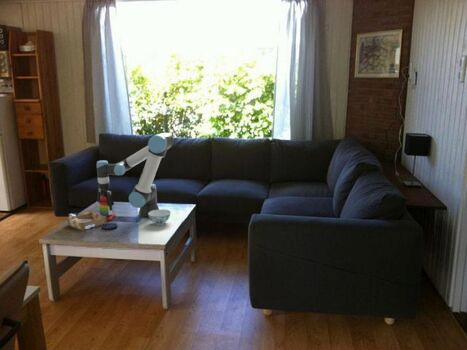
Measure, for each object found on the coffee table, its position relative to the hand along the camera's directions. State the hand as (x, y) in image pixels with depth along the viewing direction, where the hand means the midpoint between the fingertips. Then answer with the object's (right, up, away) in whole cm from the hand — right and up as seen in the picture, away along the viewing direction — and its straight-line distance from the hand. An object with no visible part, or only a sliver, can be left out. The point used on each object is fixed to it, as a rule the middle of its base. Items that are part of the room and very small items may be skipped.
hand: (106, 213), depth 296 cm
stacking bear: (0, -4, +1) cm, 4 cm away
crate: (-9, -7, -12) cm, 17 cm away
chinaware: (+40, -6, -11) cm, 42 cm away
